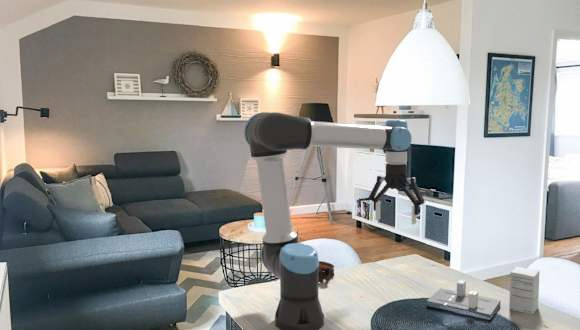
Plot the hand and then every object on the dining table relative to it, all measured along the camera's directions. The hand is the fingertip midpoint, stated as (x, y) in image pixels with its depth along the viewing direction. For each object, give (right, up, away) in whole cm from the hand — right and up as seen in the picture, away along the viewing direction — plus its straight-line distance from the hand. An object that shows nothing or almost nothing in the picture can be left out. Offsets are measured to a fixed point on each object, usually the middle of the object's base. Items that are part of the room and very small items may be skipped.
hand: (395, 221), depth 175 cm
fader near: (+20, -25, -21) cm, 38 cm away
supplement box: (+38, -27, -17) cm, 50 cm away
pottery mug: (-25, -24, +12) cm, 37 cm away
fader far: (+20, -24, -11) cm, 33 cm away
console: (+19, -26, -15) cm, 36 cm away
